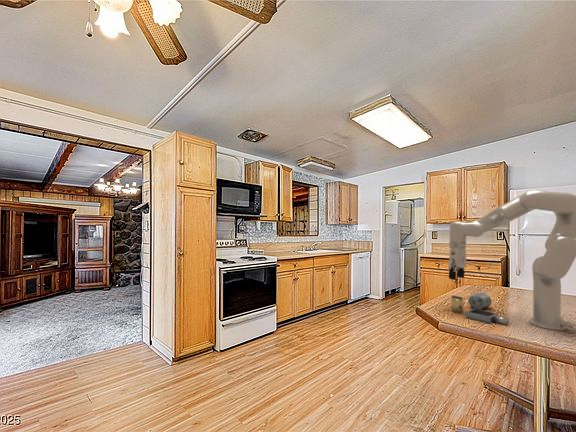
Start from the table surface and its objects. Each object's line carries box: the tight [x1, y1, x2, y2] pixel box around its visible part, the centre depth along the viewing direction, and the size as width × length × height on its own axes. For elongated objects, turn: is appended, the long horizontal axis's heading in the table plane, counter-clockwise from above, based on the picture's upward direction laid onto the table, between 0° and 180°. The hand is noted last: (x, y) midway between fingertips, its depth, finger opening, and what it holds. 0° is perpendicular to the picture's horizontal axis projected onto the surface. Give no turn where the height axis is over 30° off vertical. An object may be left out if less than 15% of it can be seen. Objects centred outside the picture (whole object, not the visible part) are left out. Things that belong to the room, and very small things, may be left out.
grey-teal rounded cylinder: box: [467, 292, 492, 310], centre depth 160 cm, size 14×10×10 cm
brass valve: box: [450, 294, 464, 315], centre depth 152 cm, size 5×5×8 cm
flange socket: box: [465, 308, 510, 326], centre depth 139 cm, size 16×10×3 cm
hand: (456, 278), depth 152 cm, fingers open, 9 cm apart
